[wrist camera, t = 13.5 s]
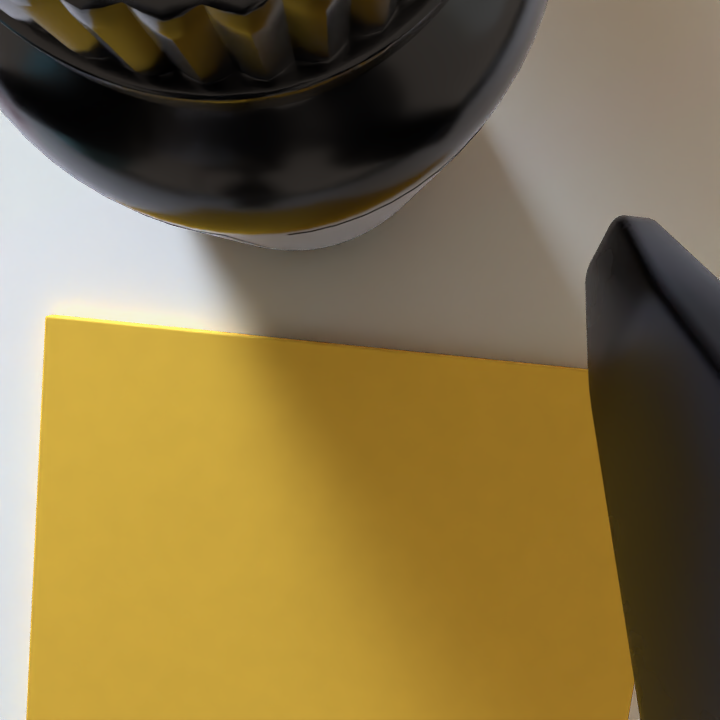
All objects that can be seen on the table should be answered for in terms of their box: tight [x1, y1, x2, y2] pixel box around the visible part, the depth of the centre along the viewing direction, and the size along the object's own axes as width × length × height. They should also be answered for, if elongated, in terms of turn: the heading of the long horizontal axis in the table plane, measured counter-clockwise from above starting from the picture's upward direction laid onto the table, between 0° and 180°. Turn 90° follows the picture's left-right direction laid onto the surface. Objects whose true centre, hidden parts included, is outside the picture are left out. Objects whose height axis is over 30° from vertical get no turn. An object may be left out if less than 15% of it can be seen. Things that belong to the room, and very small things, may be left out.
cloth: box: [26, 315, 634, 720], centre depth 17 cm, size 19×15×1 cm
